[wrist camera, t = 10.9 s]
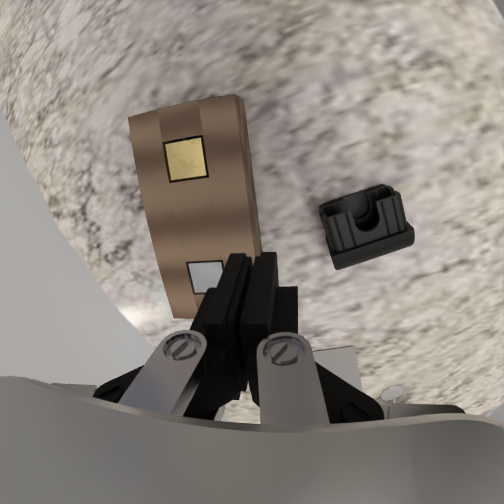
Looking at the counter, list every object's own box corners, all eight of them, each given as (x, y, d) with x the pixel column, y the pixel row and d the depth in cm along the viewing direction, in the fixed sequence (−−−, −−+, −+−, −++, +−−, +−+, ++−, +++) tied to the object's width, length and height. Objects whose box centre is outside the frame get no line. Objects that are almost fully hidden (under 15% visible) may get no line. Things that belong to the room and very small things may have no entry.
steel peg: (201, 245, 39) (188, 263, 34) (229, 243, 39) (220, 262, 34) (206, 271, 41) (195, 292, 36) (234, 270, 40) (226, 291, 35)
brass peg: (182, 140, 34) (165, 144, 29) (213, 135, 33) (200, 137, 28) (187, 171, 35) (171, 180, 30) (218, 167, 35) (206, 175, 30)
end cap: (331, 254, 38) (338, 280, 32) (314, 205, 36) (319, 223, 30) (400, 232, 36) (418, 253, 30) (388, 181, 33) (407, 194, 27)
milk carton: (353, 373, 47) (366, 466, 30) (313, 378, 48) (315, 472, 31) (353, 345, 44) (371, 445, 27) (310, 351, 45) (312, 453, 28)
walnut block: (151, 116, 33) (128, 117, 28) (243, 99, 31) (234, 94, 26) (187, 294, 44) (173, 318, 38) (266, 292, 42) (262, 317, 36)
